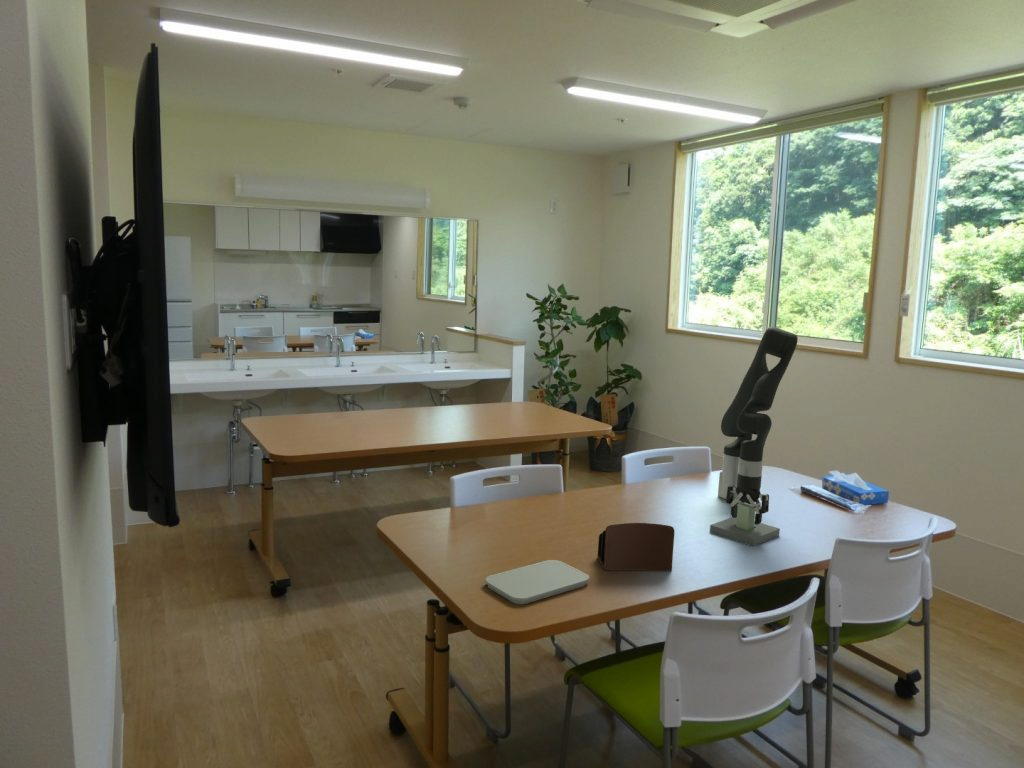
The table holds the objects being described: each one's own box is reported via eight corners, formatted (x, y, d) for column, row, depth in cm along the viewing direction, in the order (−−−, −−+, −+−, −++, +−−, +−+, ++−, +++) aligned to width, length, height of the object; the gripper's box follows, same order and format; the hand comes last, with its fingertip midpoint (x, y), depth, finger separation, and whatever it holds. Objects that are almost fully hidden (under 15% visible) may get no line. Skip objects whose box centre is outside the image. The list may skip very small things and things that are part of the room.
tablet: (480, 586, 198) (480, 578, 198) (554, 565, 214) (554, 558, 214) (517, 609, 186) (518, 600, 185) (593, 585, 201) (594, 577, 201)
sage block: (735, 533, 246) (738, 504, 245) (742, 531, 249) (744, 502, 247) (746, 537, 243) (749, 507, 242) (753, 534, 246) (755, 505, 244)
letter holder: (672, 572, 212) (675, 524, 210) (603, 571, 211) (606, 523, 209) (662, 558, 222) (666, 513, 220) (597, 557, 221) (599, 512, 218)
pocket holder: (709, 532, 246) (710, 524, 246) (736, 522, 257) (736, 515, 257) (753, 546, 235) (754, 538, 234) (779, 535, 245) (779, 528, 245)
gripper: (775, 476, 240) (771, 524, 242) (736, 466, 251) (732, 512, 253) (763, 479, 235) (759, 529, 237) (724, 469, 246) (720, 517, 248)
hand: (745, 520), depth 245 cm, fingers open, 8 cm apart
